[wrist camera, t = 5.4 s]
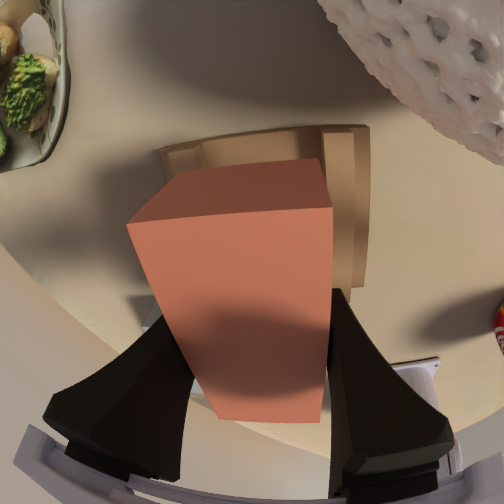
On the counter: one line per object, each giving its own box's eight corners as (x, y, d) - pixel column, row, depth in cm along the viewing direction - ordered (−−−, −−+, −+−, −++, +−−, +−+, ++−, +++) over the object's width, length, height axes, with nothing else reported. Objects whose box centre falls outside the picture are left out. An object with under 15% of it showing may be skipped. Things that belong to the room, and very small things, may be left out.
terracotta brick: (319, 359, 15) (319, 422, 12) (232, 359, 16) (219, 418, 13) (318, 158, 9) (332, 207, 6) (179, 172, 10) (125, 224, 7)
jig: (361, 278, 20) (367, 301, 18) (204, 285, 22) (195, 307, 20) (365, 124, 14) (377, 132, 12) (165, 146, 16) (147, 157, 14)
